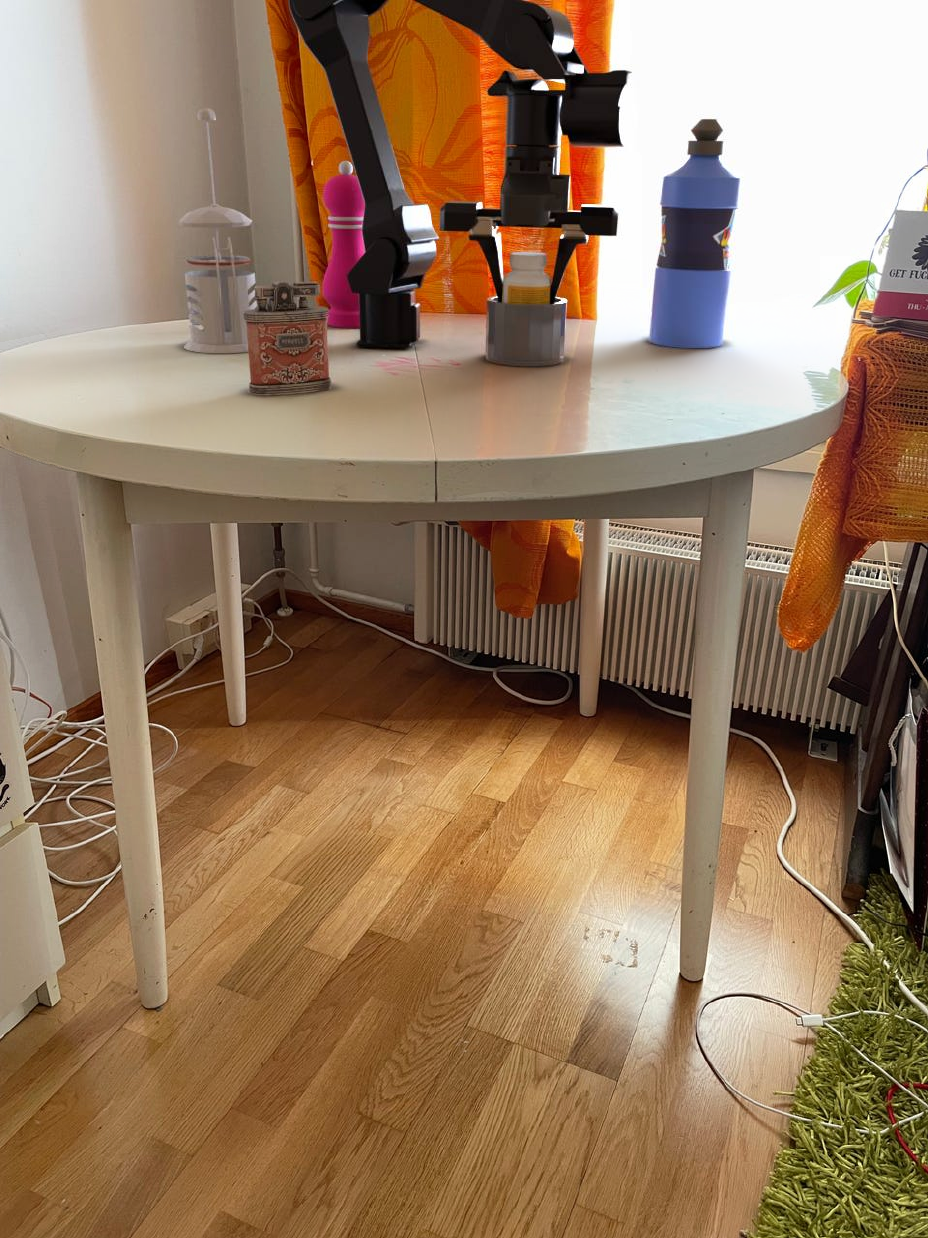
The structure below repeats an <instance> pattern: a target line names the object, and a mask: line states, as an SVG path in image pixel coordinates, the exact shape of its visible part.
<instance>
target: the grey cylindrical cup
mask: <svg viewBox="0 0 928 1238" xmlns="http://www.w3.org/2000/svg"><path fill="white" fill-rule="evenodd" d="M567 306H568V300H567V299H566V298H564V297H559V296H556V298H555V301H554V303H551V304H514V303H504V302H499V301H498V298H497V295H492V296H489V297H487V298H486V317H485V318H486V320H485V321H486V322H485V359H486V361H488V362H490V363H493V364H497V365H501V366H509V367H510V366H511V367H527V368H528V367H549V366H555V365H559V364H562V363H563V362H564V360H565V359H564V357H565V343H566V327H567V308H568V307H567Z"/></svg>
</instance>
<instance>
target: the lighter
mask: <svg viewBox="0 0 928 1238" xmlns="http://www.w3.org/2000/svg"><path fill="white" fill-rule="evenodd" d="M254 289H255V298H254V299H255V301H256V300H257V308H256V309H253V310H245V311H243V312H244V320H245V321H246V326H247V339H248V352H247V353H248V363H249V365H248V366H249V377H250V379H249V380H250V382H249V383H248V390H249V394H250V395H253V396H281V395H293V394H294V395H295V394H296V395H297V394H304V393H305V394H306V393H314V392H321V391H328V390H331V389H332V378H331V377H330V369H329V368H330V365H329V364H330V363H329V343H328V342H329V341H328V324H327V317H328V310H329V308H328V307H325V306H316V305H315V306H313V305H312V306H311V305H310V306H309V301H308V299H307V297H308V298H309V297H320V296H321V285H320V284H319V283H318V281H295V282H294V281H293V283H292V284H289V283H288V282H286V281H283V280H274V281H273V282H272V283H271V285H254ZM295 298H299V299H298V305H297V303H296V302H295Z"/></svg>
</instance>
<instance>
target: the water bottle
mask: <svg viewBox="0 0 928 1238" xmlns="http://www.w3.org/2000/svg"><path fill="white" fill-rule="evenodd" d="M725 131H726V130H725V128H723V126H722V124H721V123H720V122H719V120H718V119H717V118H701V119H700V120H699V121H697V123H696V124H695V125H694V126H693V127H692V128H691V129H690V132H691V134H692V135H693V137H694V138H695V140H688V141H687V148H686V155H687V156H689V157H688V158H687V160H686V161H685V162H684V163H683V164H682V165H681V166H678V167H677V168H674V169H673V170H671V171H669V172H668V173H665V174H663V175H662V178H661V189H660V190H661V191H660V201H659V205H660V206H661V207H660V211H661V213H660V215H661V221H660V222H661V223H660V224H661V243H660V248H659V252H658V256H657V261H656V266H655V271H654V281H653V291H652V300H651V301H652V303H651V311H650V312H651V313H650V325H649V334H648V342H649V343H651V344H654V345H657V346H662V347H668V348H681V349H709V348H717V347H721V346H722V345H723V341H724V340H723V339H724V330H725V323H726V314H727V306H728V299H729V298H728V297H729V290H730V281H731V272H732V269H731V242H732V239H733V238H732V237H733V234H734V229H735V225H736V220H737V216H738V211H739V208H740V207H741V201H742V194H743V186H744V176H742V175H740V174H739V173H737V172H736V171H735V170H733V169H731V168H729V167H728V166H726V165H725V162H724V161H723V159H722V158H721V156H724V155H725V149H726V148H725V147H726V146H725V145H726V141H725V140H718V139H719V138H720V137H721V136H722V135H723V134H724V133H725Z"/></svg>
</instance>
